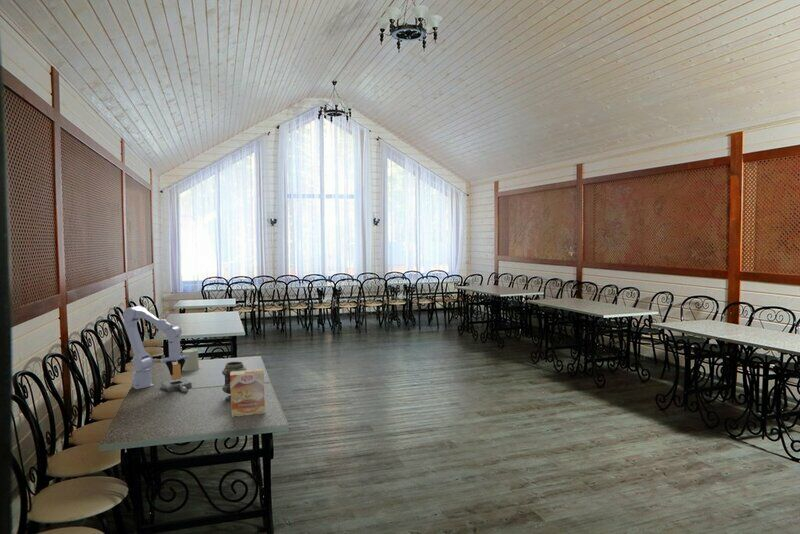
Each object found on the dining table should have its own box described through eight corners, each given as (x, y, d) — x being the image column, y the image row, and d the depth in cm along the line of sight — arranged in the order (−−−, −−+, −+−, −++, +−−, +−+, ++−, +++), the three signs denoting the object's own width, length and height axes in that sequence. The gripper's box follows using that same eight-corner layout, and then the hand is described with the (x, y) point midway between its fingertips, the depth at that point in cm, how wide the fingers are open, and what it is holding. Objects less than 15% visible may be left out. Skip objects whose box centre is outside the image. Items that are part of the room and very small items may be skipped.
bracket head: (174, 395, 285) (173, 390, 284) (161, 387, 300) (161, 382, 299) (197, 390, 292) (197, 385, 292) (183, 382, 307) (183, 378, 307)
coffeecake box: (231, 417, 250) (229, 375, 249) (231, 412, 257) (229, 371, 256) (265, 413, 254) (263, 372, 253) (264, 408, 261) (263, 368, 260)
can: (195, 371, 332) (194, 351, 331) (180, 371, 332) (179, 351, 331) (201, 367, 341) (200, 347, 340) (186, 367, 342) (185, 348, 341)
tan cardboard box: (173, 380, 296) (172, 365, 295) (171, 378, 299) (170, 364, 298) (181, 378, 298) (180, 364, 298) (178, 377, 301) (177, 362, 301)
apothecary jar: (252, 395, 282) (250, 360, 281) (239, 402, 270) (237, 366, 269) (231, 393, 285) (230, 359, 284) (217, 401, 274) (216, 365, 272)
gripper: (163, 352, 290) (164, 378, 291) (190, 348, 299) (192, 372, 300) (158, 350, 295) (160, 375, 296) (186, 346, 304) (187, 370, 305)
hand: (175, 373), depth 298 cm, fingers closed on tan cardboard box, 4 cm apart
